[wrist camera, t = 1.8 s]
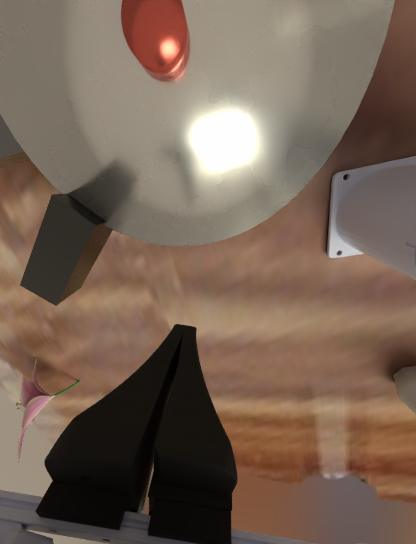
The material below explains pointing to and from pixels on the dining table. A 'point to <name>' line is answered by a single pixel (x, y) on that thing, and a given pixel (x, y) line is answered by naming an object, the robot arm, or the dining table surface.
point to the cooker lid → (176, 114)
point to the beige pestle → (406, 386)
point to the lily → (32, 401)
